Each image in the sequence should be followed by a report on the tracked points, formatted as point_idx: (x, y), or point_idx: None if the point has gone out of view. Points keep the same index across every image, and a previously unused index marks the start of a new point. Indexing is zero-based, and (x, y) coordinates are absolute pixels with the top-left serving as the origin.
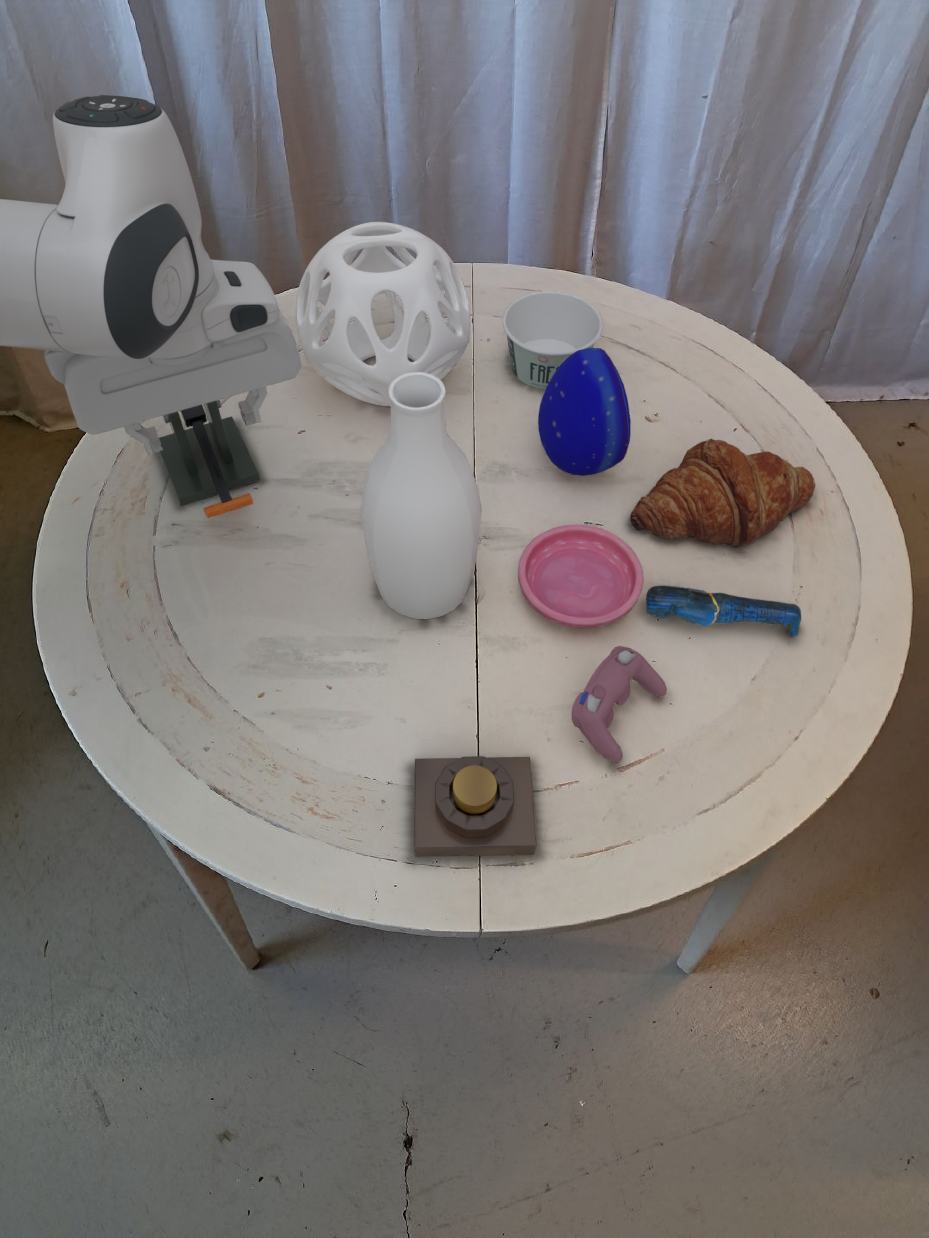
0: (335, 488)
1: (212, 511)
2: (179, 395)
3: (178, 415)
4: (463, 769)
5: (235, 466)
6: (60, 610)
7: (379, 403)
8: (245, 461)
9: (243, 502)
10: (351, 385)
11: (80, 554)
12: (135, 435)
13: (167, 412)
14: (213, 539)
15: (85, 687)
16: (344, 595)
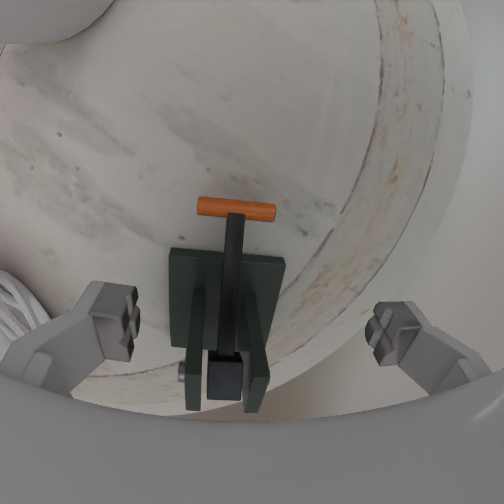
0: (86, 187)
1: (265, 207)
2: (409, 486)
3: (254, 373)
4: None
5: (193, 279)
6: (444, 188)
7: (17, 283)
8: (178, 281)
9: (213, 201)
10: (29, 315)
11: (401, 245)
12: (459, 345)
13: (434, 404)
14: (274, 181)
15: (461, 90)
16: (161, 5)
